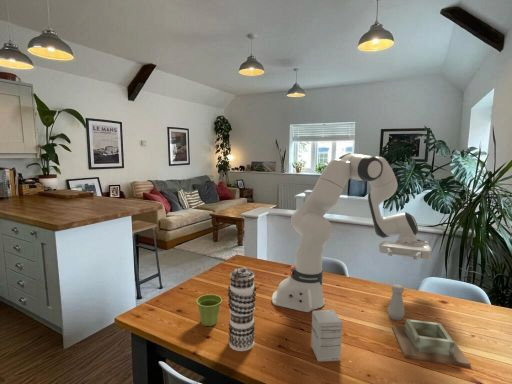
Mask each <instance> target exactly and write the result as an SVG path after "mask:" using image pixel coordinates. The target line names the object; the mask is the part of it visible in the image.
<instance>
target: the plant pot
mask: <svg viewBox="0 0 512 384" xmlns="http://www.w3.org/2000/svg"><path fill="white" fill-rule="evenodd" d="M195 301H196V304H197V307H198V312H199V319H200V323H201V325H202V326H204V327H207V326H208V327H213V326H215V325H216V324H217V323H218V320H219V314H220V313H219V312H220V307H221V304H222V302H223V298H222V297H221V296H220V295H218V294H210V293H208V294H203V295H200V296H199V297H197V299H196V300H195Z"/></svg>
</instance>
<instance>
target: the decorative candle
mask: <svg viewBox="0 0 512 384" xmlns="http://www.w3.org/2000/svg"><path fill="white" fill-rule="evenodd" d="M255 275H256V274H255V272H253V271H252V270H251V269H250V268H247V267H238V268H237V267H236V268H234V270H232V271H231V272H230V273H229V277H230V282H229V283H230V284H229V286H227V292H228V293H227V296H228V300H227V301H228V307H229V308H228V310H229V313H230V317H229V322H228V326H229V328H228V331H229V333H228V336H229V337H228V342H229V343H228V345H229V347H230V349H232V350H234V351H238V352H245V351H250V349H252V348H253V347H254V345H255V334H256V333H255V329H256V328H255V325H256V323H255V318H254V312H255V311H256V310H255V307H256V299H257V298H256V296H257V295H256V294H257V293H256V292H255V291H257V287H256V286H255V282H254V280H255V279H254V278H255Z"/></svg>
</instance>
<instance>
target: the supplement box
mask: <svg viewBox="0 0 512 384" xmlns="http://www.w3.org/2000/svg"><path fill="white" fill-rule="evenodd" d="M311 312H312V313H311V339H310V341H311V342H310V343H311V344H310V346H311V349H312V350H313V353H314V356H315V358H316V360H317V362H337V361H341V355H342V354H341V351H342V336H343V335H342V332H343V322H342V320H341V319H340V317H339V316H338V315H337V313H336V311H335V310H333V309H325V310H324V309H323V310H322V309H321V310H311Z"/></svg>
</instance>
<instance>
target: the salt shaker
mask: <svg viewBox="0 0 512 384" xmlns="http://www.w3.org/2000/svg"><path fill="white" fill-rule="evenodd" d="M390 290H391V292H392V294H391V297H390V300H389V305H388V307H387V312H388V315H389V318H390V319H391V320H393V321H401V320H402V319H403V317H404V315H405V306H404V300H403V293H404V291H405V289H404V287H403V286H402V285H401V284H397V283H394V284H392V285H391V287H390Z"/></svg>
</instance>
